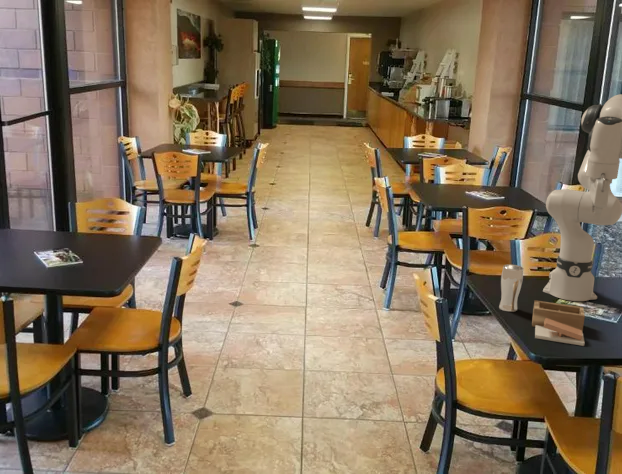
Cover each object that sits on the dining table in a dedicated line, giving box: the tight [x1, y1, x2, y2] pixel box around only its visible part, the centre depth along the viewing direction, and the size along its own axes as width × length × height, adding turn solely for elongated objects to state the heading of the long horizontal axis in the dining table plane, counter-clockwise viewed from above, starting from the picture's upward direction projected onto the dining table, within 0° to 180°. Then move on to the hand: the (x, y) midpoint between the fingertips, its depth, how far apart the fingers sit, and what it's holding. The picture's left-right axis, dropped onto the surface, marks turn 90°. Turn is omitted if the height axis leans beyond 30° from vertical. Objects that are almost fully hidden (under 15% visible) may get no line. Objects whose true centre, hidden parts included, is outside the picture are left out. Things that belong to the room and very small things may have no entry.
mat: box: [534, 325, 585, 347], centre depth 202 cm, size 9×14×1 cm, turn 71°
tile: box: [544, 318, 583, 340], centre depth 201 cm, size 5×11×3 cm, turn 71°
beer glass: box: [498, 264, 524, 313], centre depth 223 cm, size 7×7×15 cm
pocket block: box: [531, 299, 586, 332], centre depth 211 cm, size 9×15×6 cm, turn 71°
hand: (595, 215), depth 202 cm, fingers open, 8 cm apart
